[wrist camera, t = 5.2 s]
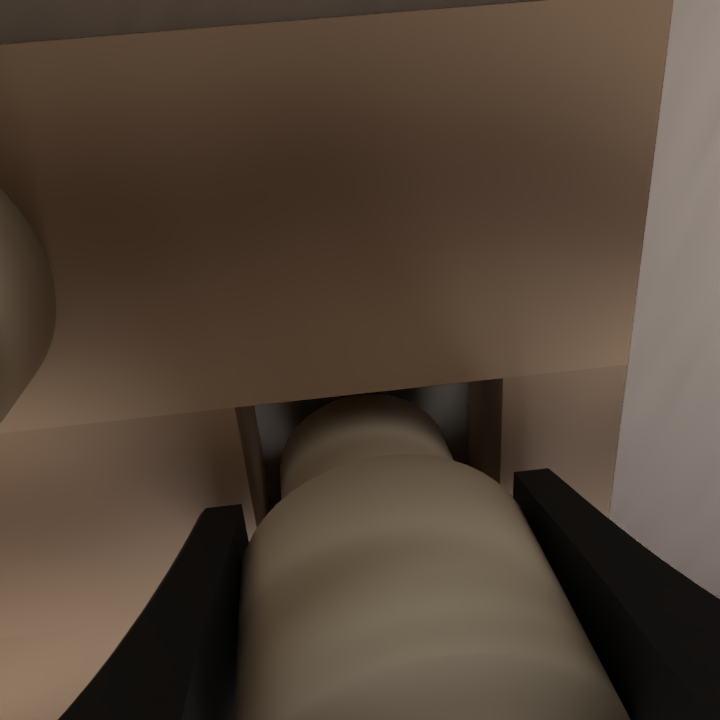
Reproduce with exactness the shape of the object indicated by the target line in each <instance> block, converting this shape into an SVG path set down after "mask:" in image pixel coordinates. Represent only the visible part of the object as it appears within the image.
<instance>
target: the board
mask: <svg viewBox="0 0 720 720" xmlns="http://www.w3.org/2000/svg"><path fill="white" fill-rule="evenodd" d="M672 8H673V0H538V1H525V2H513V3H501V4H489V5H476V6H464V7H452V8H439V9H427V10H415V11H403V12H390V13H378V14H366V15H353V16H341V17H329V18H317V19H304V20H292V21H280V22H267V23H255V24H243V25H231V26H218V27H206V28H194V29H181V30H169V31H157V32H145V33H132V34H120V35H108V36H95V37H83V38H71V39H59V40H46V41H34V42H22V43H9V44H0V720H58V719H59V717H60V716H61V715H62V714H63V713H64V712H65V711H66V710H67V708H68V707H69V706H70V705H71V704H72V703H73V701H74V700H75V699H76V698H77V697H78V695H79V694H80V693H81V692H82V691H83V689H84V688H85V687H86V686H87V685H88V684H89V682H90V681H91V680H92V679H93V677H94V676H95V675H96V674H97V672H98V671H99V670H100V668H101V667H102V666H103V665H104V663H105V662H106V661H107V659H108V658H109V657H110V656H111V654H112V653H113V652H114V650H115V649H116V647H117V646H118V645H119V643H120V642H121V640H122V639H123V638H124V636H125V635H126V633H127V632H128V631H129V629H130V628H131V626H132V625H133V624H134V622H135V621H136V619H137V618H138V617H139V615H140V614H141V612H142V611H143V609H144V608H145V606H146V605H147V603H148V602H149V600H150V599H151V597H152V596H153V594H154V592H155V591H156V589H157V588H158V586H159V585H160V583H161V581H162V580H163V578H164V577H165V575H166V574H167V572H168V570H169V569H170V567H171V565H172V564H173V562H174V560H175V559H176V557H177V555H178V554H179V552H180V550H181V548H182V547H183V545H184V543H185V541H186V540H187V538H188V536H189V534H190V532H191V531H192V529H193V527H194V525H195V523H196V521H197V519H198V517H199V516H200V514H201V513H202V512H203V511H204V509H205V508H210V507H219V506H227V505H236V504H242V508H243V514H244V519H245V524H246V529H247V534H248V539H249V542H250V539H251V537H252V535H253V533H254V532H255V530H256V529H257V527H258V526H259V524H260V523H261V522H262V520H263V519H264V518H265V516H266V515H267V514H268V513H269V512H270V511H271V504H270V498H269V492H268V486H267V480H266V474H265V468H264V462H263V456H262V450H261V445H260V439H259V433H258V427H257V421H256V415H255V409H254V405H262V404H271V403H281V402H290V401H299V400H308V399H317V398H326V397H335V396H344V395H353V394H363V393H372V392H381V391H390V390H399V389H408V388H417V387H426V386H435V385H444V384H454V383H463V382H469V414H468V466H470V467H472V468H474V469H477V470H479V471H481V472H483V473H484V474H486V475H487V476H489V477H490V478H492V479H494V480H495V481H497V482H498V483H499V484H500V485H501V486H502V487H503V488H504V489H506V490H507V491H508V492H509V493H510V495H511V496H512V497H513V479H514V472H518V471H527V470H535V469H544V468H549V469H550V470H551V471H553V472H554V473H555V474H556V475H557V476H559V477H560V478H561V479H562V480H563V481H564V482H566V483H567V484H568V485H569V486H570V487H572V488H573V489H574V490H575V491H576V492H577V493H579V494H580V495H581V496H582V497H583V498H585V499H586V500H587V501H588V502H589V503H590V504H592V505H593V506H594V507H595V508H596V509H598V510H599V511H600V512H601V513H602V514H604V515H605V516H606V517H607V518H609V511H610V503H611V495H612V487H613V479H614V471H615V463H616V455H617V447H618V439H619V431H620V423H621V415H622V407H623V399H624V391H625V384H626V376H627V368H628V360H629V352H630V344H631V336H632V328H633V320H634V312H635V304H636V296H637V288H638V280H639V272H640V264H641V256H642V248H643V240H644V232H645V224H646V216H647V208H648V200H649V192H650V184H651V176H652V168H653V160H654V152H655V144H656V136H657V128H658V120H659V112H660V104H661V96H662V88H663V80H664V72H665V64H666V56H667V48H668V40H669V32H670V24H671V16H672Z"/></svg>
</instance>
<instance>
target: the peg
mask: <svg viewBox="0 0 720 720" xmlns="http://www.w3.org/2000/svg"><path fill="white" fill-rule="evenodd" d="M280 473H281V501H280V502H279V503H278V504H276V505H275V506H274V508H273V509H272V510H271V511H270V512H269V513H268V514H267V515H266V516H265V518H264V519H263V520H262V522H261V523H260V524H259V526H258V527H257V529H256V530H255V532H254V533H253V535H252V537H251V539H250V542H249V544H248V546H247V548H246V551H245V554H244V557H243V561H242V567H241V582H240V597H239V612H238V635H237V659H236V682H235V706H234V720H630V718H629V716H628V714H627V712H626V710H625V708H624V706H623V704H622V702H621V700H620V698H619V696H618V694H617V693H616V691H615V689H614V687H613V685H612V683H611V681H610V679H609V677H608V675H607V673H606V671H605V669H604V668H603V666H602V664H601V662H600V660H599V658H598V656H597V654H596V652H595V650H594V648H593V646H592V644H591V643H590V641H589V639H588V637H587V635H586V633H585V631H584V629H583V627H582V625H581V623H580V621H579V619H578V618H577V616H576V614H575V612H574V610H573V608H572V606H571V604H570V602H569V600H568V598H567V596H566V594H565V593H564V591H563V589H562V587H561V585H560V583H559V581H558V579H557V577H556V575H555V573H554V571H553V569H552V568H551V566H550V564H549V562H548V560H547V558H546V556H545V554H544V552H543V550H542V548H541V546H540V544H539V543H538V541H537V539H536V537H535V535H534V533H533V531H532V529H531V527H530V525H529V523H528V521H527V519H526V518H525V516H524V514H523V512H522V510H521V508H520V506H519V505H518V503H517V502H516V501H515V500H514V498H513V497H512V496H511V495H510V493H509V492H508V491H507V490H506V489H504V488H503V487H502V486H501V485H500V484H499V483H498V482H497V481H495V480H494V479H492V478H490V477H489V476H487V475H486V474H484V473H483V472H481V471H479V470H477V469H474V468H472V467H470V466H468V465H465V464H462V463H459V462H456V461H454V460H453V458H452V455H451V453H450V451H449V448H448V446H447V444H446V441H445V439H444V437H443V434H442V432H441V430H440V429H439V427H438V425H437V424H436V423H435V421H434V420H433V419H432V418H431V417H430V416H429V415H428V414H427V413H426V412H425V411H424V410H422V409H421V408H419V407H418V406H416V405H414V404H412V403H410V402H408V401H406V400H403V399H400V398H397V397H393V396H388V395H381V394H361V395H354V396H349V397H345V398H342V399H338V400H336V401H333V402H331V403H328V404H326V405H325V406H323V407H321V408H319V409H317V410H316V411H315V412H313V413H312V414H310V415H309V416H308V417H307V418H306V419H304V420H303V421H302V422H301V423H300V424H299V425H298V427H297V428H296V429H295V430H294V431H293V433H292V435H291V436H290V438H289V439H288V441H287V443H286V446H285V448H284V451H283V454H282V458H281V465H280Z"/></svg>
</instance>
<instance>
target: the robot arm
mask: <svg viewBox="0 0 720 720" xmlns="http://www.w3.org/2000/svg"><path fill="white" fill-rule="evenodd" d="M513 498H514V500H515V501H516V502H517V503H518V505H519V506H520V508H521V510H522V512H523V514H524V516H525V518H526V519H527V521H528V523H529V525H530V527H531V529H532V531H533V533H534V535H535V537H536V539H537V541H538V543H539V544H540V546H541V548H542V550H543V552H544V554H545V556H546V558H547V560H548V562H549V564H550V566H551V568H552V569H553V571H554V573H555V575H556V577H557V579H558V581H559V583H560V585H561V587H562V589H563V591H564V593H565V594H566V596H567V598H568V600H569V602H570V604H571V606H572V608H573V610H574V612H575V614H576V616H577V618H578V619H579V621H580V623H581V625H582V627H583V629H584V631H585V633H586V635H587V637H588V639H589V641H590V643H591V644H592V646H593V648H594V650H595V652H596V654H597V656H598V658H599V660H600V662H601V664H602V666H603V668H604V669H605V671H606V673H607V675H608V677H609V679H610V681H611V683H612V685H613V687H614V689H615V691H616V693H617V694H618V696H619V698H620V700H621V702H622V704H623V706H624V708H625V710H626V712H627V714H628V716H629V718H630V720H720V599H719V598H717V597H715V596H714V595H712V594H711V593H709V592H708V591H706V590H705V589H703V588H702V587H700V586H699V585H697V584H696V583H694V582H693V581H691V580H690V579H688V578H687V577H686V576H684V575H683V574H681V573H680V572H678V571H677V570H676V569H674V568H673V567H671V566H670V565H668V564H667V563H666V562H664V561H663V560H661V559H660V558H659V557H657V556H656V555H655V554H653V553H652V552H651V551H649V550H648V549H647V548H645V547H644V546H643V545H641V544H640V543H639V542H637V541H636V540H635V539H634V538H632V537H631V536H630V535H629V534H627V533H626V532H625V531H623V530H622V529H621V528H620V527H618V526H617V525H616V524H615V523H613V522H612V521H611V520H610V519H609V518H607V517H606V516H605V515H604V514H602V513H601V512H600V511H599V510H598V509H596V508H595V507H594V506H593V505H592V504H590V503H589V502H588V501H587V500H586V499H585V498H583V497H582V496H581V495H580V494H579V493H577V492H576V491H575V490H574V489H573V488H572V487H570V486H569V485H568V484H567V483H566V482H564V481H563V480H562V479H561V478H560V477H559V476H557V475H556V474H555V473H554V472H553V471H551V470H550V469H549V468H544V469H535V470H527V471H518V472H514V479H513ZM248 544H249V539H248V534H247V529H246V524H245V519H244V514H243V508H242V504H236V505H227V506H219V507H210V508H205V509H204V511H203V512H202V513H201V514H200V516H199V517H198V519H197V521H196V523H195V525H194V527H193V529H192V531H191V532H190V534H189V536H188V538H187V540H186V541H185V543H184V545H183V547H182V548H181V550H180V552H179V554H178V555H177V557H176V559H175V560H174V562H173V564H172V565H171V567H170V569H169V570H168V572H167V574H166V575H165V577H164V578H163V580H162V581H161V583H160V585H159V586H158V588H157V589H156V591H155V592H154V594H153V596H152V597H151V599H150V600H149V602H148V603H147V605H146V606H145V608H144V609H143V611H142V612H141V614H140V615H139V617H138V618H137V619H136V621H135V622H134V624H133V625H132V626H131V628H130V629H129V631H128V632H127V633H126V635H125V636H124V638H123V639H122V640H121V642H120V643H119V645H118V646H117V647H116V649H115V650H114V652H113V653H112V654H111V656H110V657H109V658H108V659H107V661H106V662H105V663H104V665H103V666H102V667H101V668H100V670H99V671H98V672H97V674H96V675H95V676H94V677H93V679H92V680H91V681H90V682H89V684H88V685H87V686H86V687H85V688H84V689H83V691H82V692H81V693H80V694H79V695H78V697H77V698H76V699H75V700H74V701H73V703H72V704H71V705H70V706H69V707H68V708H67V710H66V711H65V712H64V713H63V714H62V715H61V716H60V717H59V719H58V720H234V706H235V682H236V659H237V635H238V612H239V597H240V582H241V567H242V561H243V557H244V554H245V551H246V548H247V546H248Z"/></svg>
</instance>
